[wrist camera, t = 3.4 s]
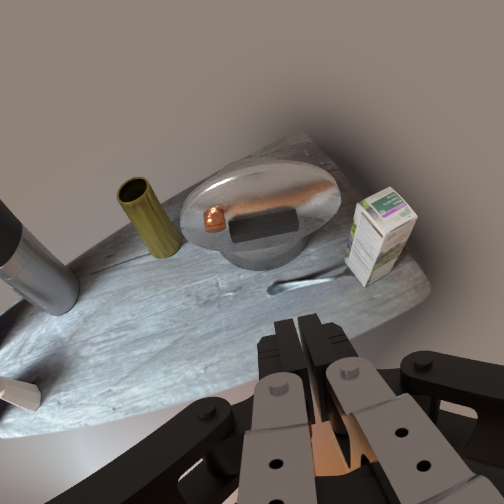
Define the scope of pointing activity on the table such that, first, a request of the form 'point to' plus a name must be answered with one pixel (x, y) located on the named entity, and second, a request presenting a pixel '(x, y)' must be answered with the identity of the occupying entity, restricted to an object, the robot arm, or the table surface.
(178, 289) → the table surface
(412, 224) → the syrup box
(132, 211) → the vase
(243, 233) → the pot lid
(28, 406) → the pepper shaker
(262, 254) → the steel pot
